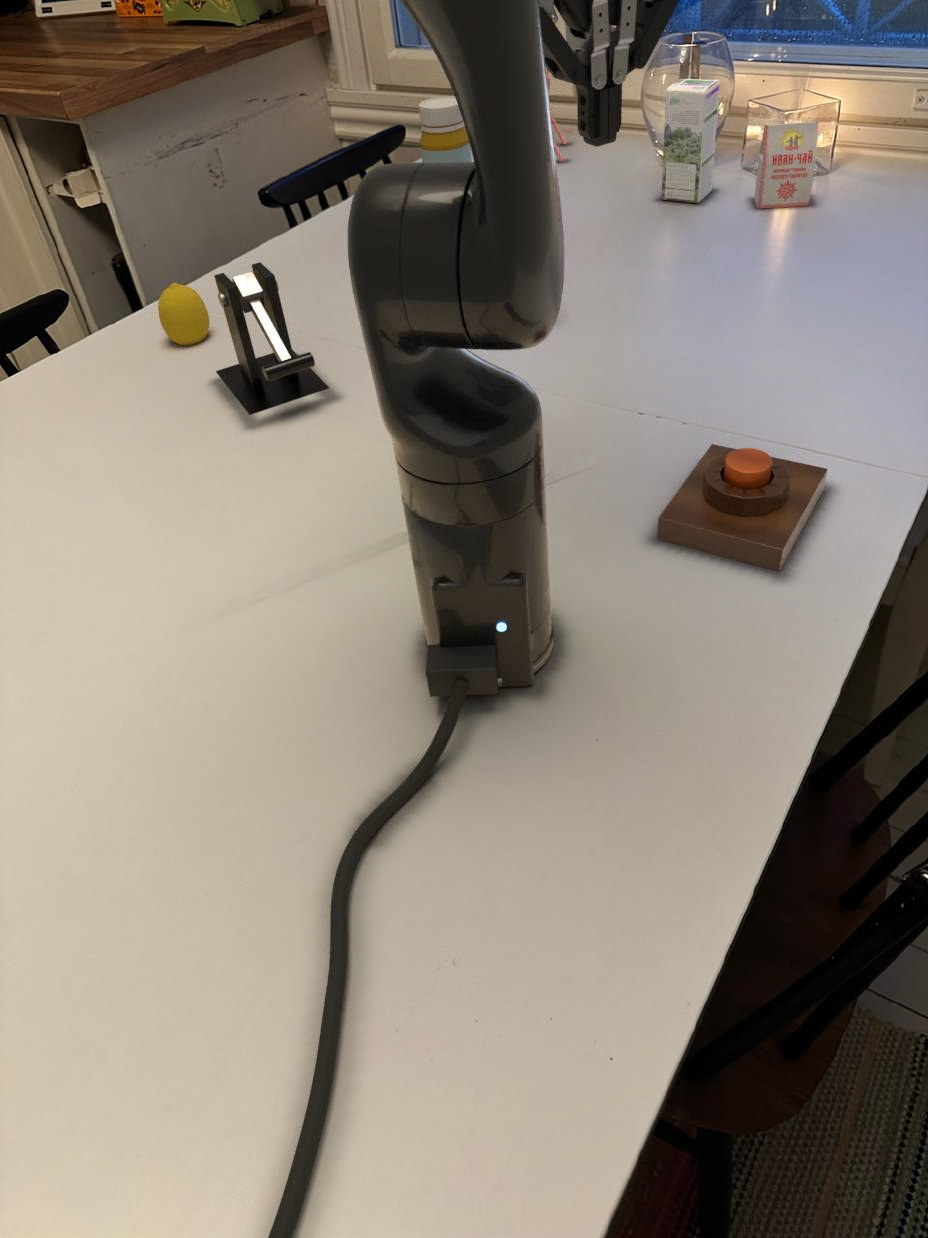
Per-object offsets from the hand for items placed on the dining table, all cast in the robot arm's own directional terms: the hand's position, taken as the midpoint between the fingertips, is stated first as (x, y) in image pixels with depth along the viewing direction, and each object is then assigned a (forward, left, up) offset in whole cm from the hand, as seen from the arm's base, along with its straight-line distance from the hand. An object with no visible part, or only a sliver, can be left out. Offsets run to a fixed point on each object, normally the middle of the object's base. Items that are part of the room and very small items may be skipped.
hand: (599, 141), depth 67 cm
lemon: (+30, +46, -27) cm, 61 cm away
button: (-10, -11, -23) cm, 28 cm away
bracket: (+18, +34, -27) cm, 47 cm away
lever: (+15, +32, -19) cm, 40 cm away
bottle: (+68, +16, -27) cm, 75 cm away
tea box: (+61, -30, -27) cm, 73 cm away
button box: (-10, -11, -27) cm, 31 cm away
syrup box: (+67, -18, -27) cm, 75 cm away
